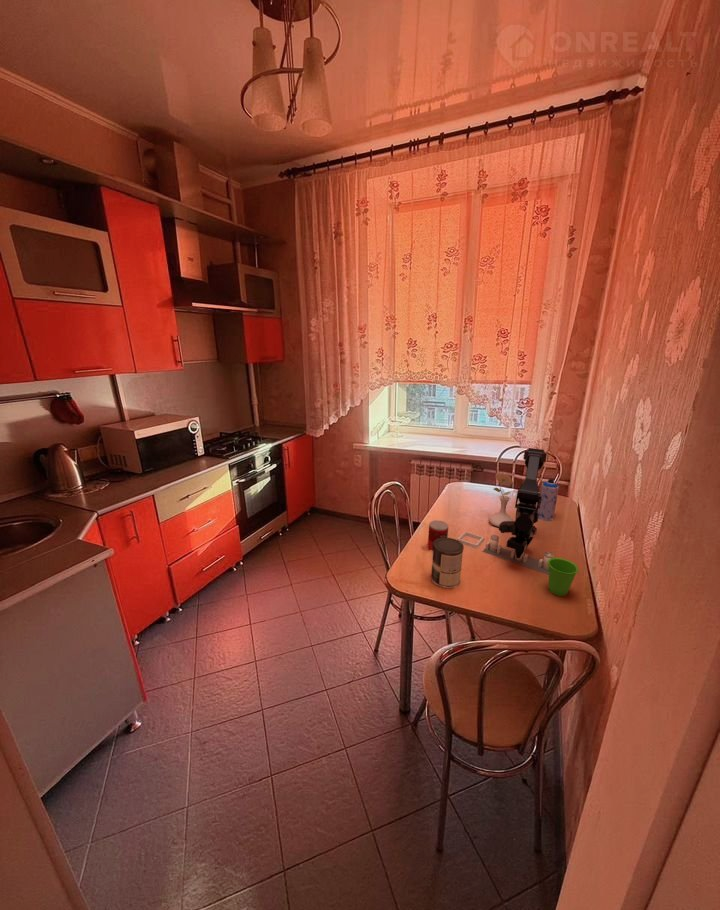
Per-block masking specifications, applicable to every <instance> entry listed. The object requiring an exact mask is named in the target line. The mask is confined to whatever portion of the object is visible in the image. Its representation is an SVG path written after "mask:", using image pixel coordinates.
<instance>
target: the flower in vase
mask: <svg viewBox="0 0 720 910" xmlns="http://www.w3.org/2000/svg"><path fill="white" fill-rule="evenodd" d="M494 478H495V479H496V481H497V482H498V483H499V484H500V488H498V487H494V488H493V491H495V492H497V493H501V495H499V496H498V498H499V501H500V509H499V511H498V512H496V513H494V514H492V515H490V517H489V518H488V521H489V523H490V524H491V525H493V526H494V527H498V528H499V525H500V523H501V522H503V521H515V520H514V519H513V518H512V517H511V516H510V515H509V514H508V513H507V510H506V509H507V505H508V502H509V501H510V500H511V497H510V496H507V495H509V494H511V492H512V491H505V492H502V486H512V484H513V479H512V477H510V476H509V475H508V474H507V473H504V472H501V471H500V472H497V473H496V474H495V476H494Z"/></svg>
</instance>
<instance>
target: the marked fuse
mask: <svg viewBox="0 0 720 910" xmlns="http://www.w3.org/2000/svg"><path fill="white" fill-rule="evenodd" d="M524 555H525V551H524V552H523V554H522V555H521V557H520V558H517V557H516V553H515V559H516V560H518V561H522V560H523V557H524Z"/></svg>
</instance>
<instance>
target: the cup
mask: <svg viewBox="0 0 720 910" xmlns="http://www.w3.org/2000/svg"><path fill="white" fill-rule="evenodd" d="M548 565H549V575H548V590H549V591H550V593H552V594H553V595H555V596H558V597H566V596H567V595H568V592H569V590H570V588H571V586H572V583H573V581H574V579H575V577H576V575H577V573H578V572H579V567H578V565H576V563H574V562H572V560H571V561H570V560H568V559H565V558H562V557H561V558H560V557H554V558H551V559H549V560H548Z"/></svg>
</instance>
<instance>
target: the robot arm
mask: <svg viewBox="0 0 720 910" xmlns="http://www.w3.org/2000/svg"><path fill="white" fill-rule="evenodd" d="M523 453H524V454H523V460H524V464H525V467H526V474H525V478H524V480H523V482H522V483H520V487H519V489H517V493H516V497H515V506H514V509H516V511H515V520H514V521H503V522H501V523H500V525H499V527H498V530H499V531H500V533H501V534H506V533H507V534H508V533H511V535H512V536H511V537H509V538H508V539H507V541H506V547H507V548H510V549H512V550H515V552H516V557H517V558H520V557H521V555H522V554H523V552H524V553H525V551H526V550H527V548H528V547H529V545H530V544H531V542H532V541H533V539H534V537H533V536H535V535H536V534H537V531H538V529H537V528H538V527H536V526H535V525H534V524H536V523H538V521H539V518H538V516H539V513H538V508H539V509H540V505H541V498H542V496H541V494H540V486H539V484H538V483H537V482H538V481H537V480H538V473H539V471H540V469H542V468H543V466H544V463H546V461H547V456H548V452H546V451H545V449H542V448H539V449H538V448H533V447H528V448H527V449H526V450H524V452H523ZM532 535H533V536H532Z"/></svg>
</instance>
